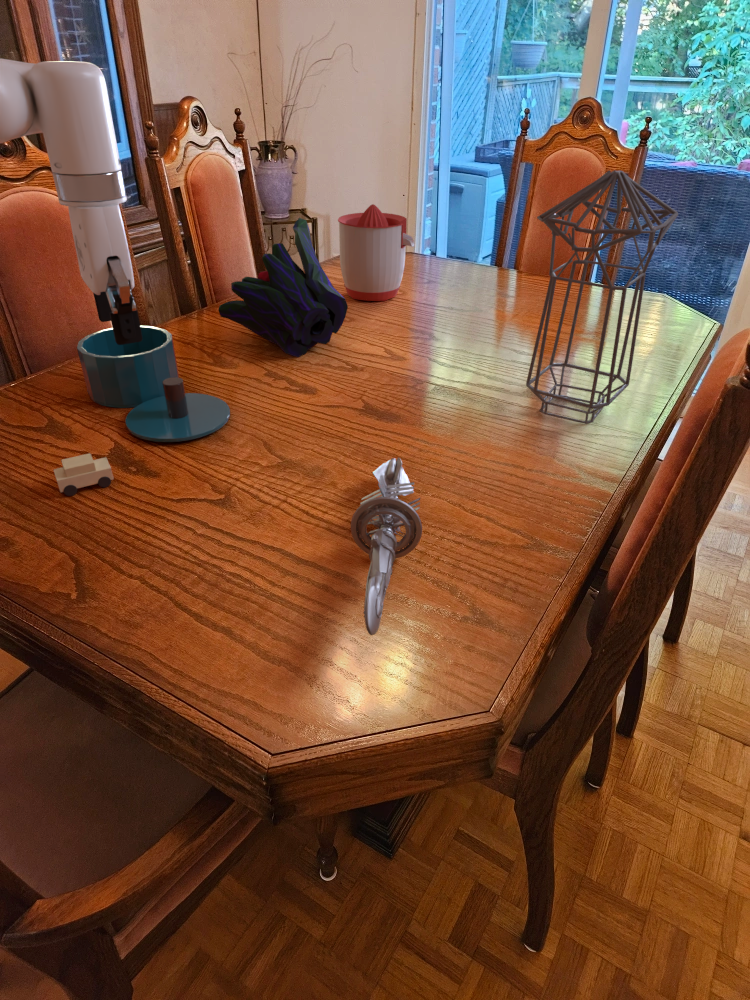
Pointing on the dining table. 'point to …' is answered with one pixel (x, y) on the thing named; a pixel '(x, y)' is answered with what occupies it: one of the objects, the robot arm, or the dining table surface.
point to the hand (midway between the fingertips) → (120, 330)
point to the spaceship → (385, 534)
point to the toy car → (82, 473)
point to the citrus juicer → (373, 253)
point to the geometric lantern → (549, 219)
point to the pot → (127, 367)
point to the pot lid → (177, 415)
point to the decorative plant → (289, 299)
